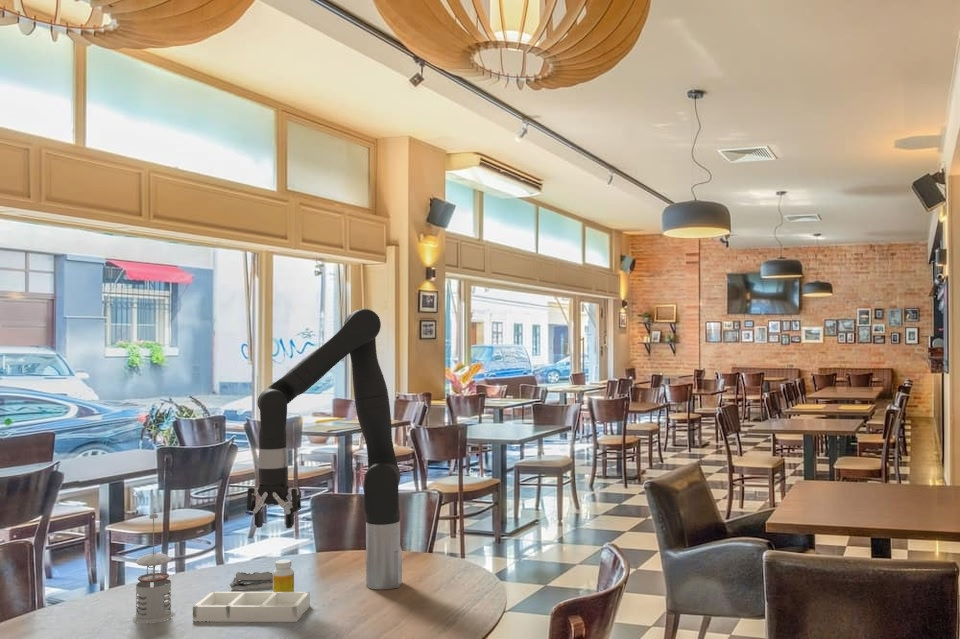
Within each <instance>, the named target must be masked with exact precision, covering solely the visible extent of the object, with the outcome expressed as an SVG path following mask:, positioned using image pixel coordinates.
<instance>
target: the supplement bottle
mask: <svg viewBox="0 0 960 639" xmlns="http://www.w3.org/2000/svg"><path fill="white" fill-rule="evenodd" d="M274 566H275V569H274V570H273V571H272V574H273V580H272V581H273V587H272V592H295V571H294V568H292V567H291V566H292V559H284V558H283V559H277V560H276V561H275V564H274Z"/></svg>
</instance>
